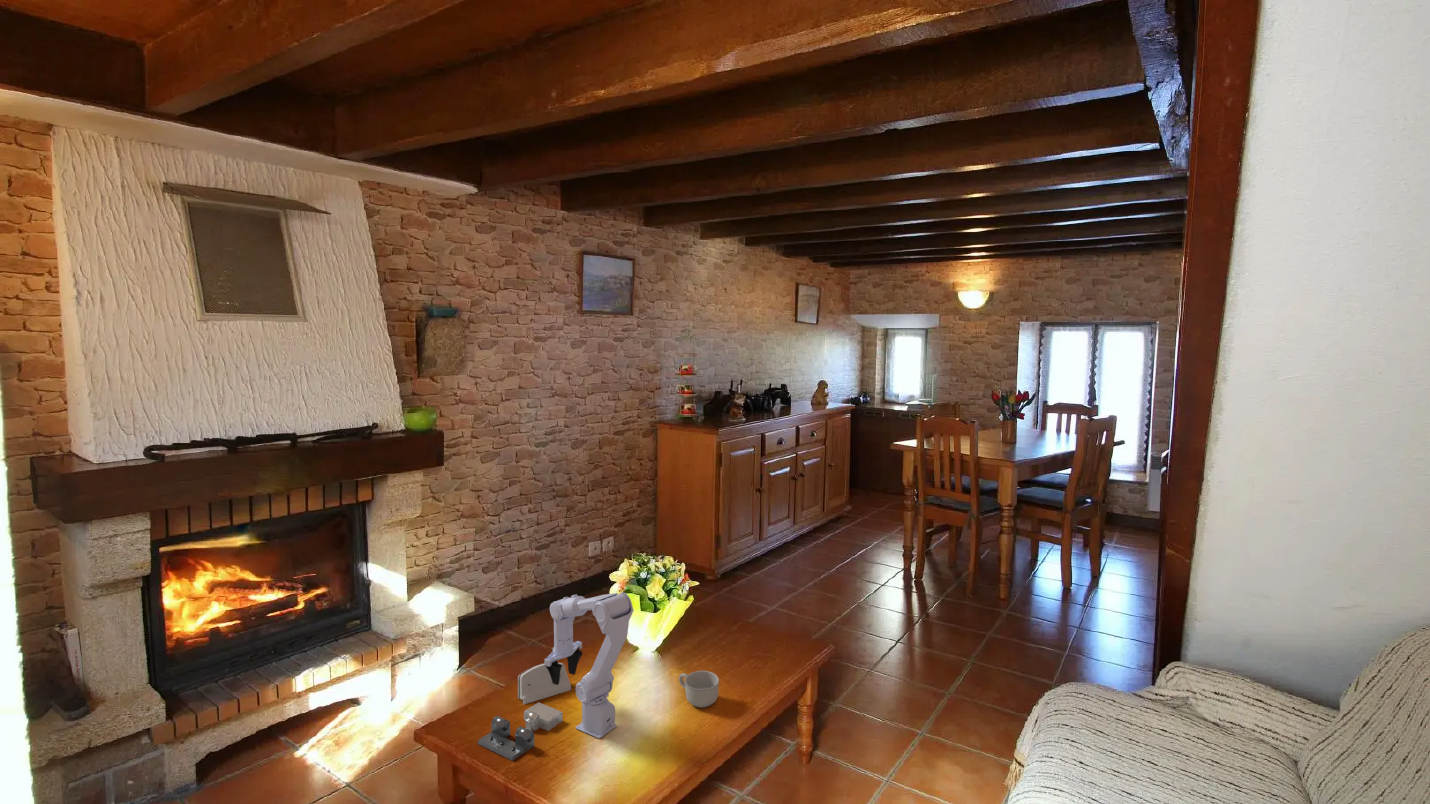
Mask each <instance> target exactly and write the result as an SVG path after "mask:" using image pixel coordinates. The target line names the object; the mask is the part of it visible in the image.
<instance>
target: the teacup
mask: <svg viewBox="0 0 1430 804" xmlns="http://www.w3.org/2000/svg"><path fill="white" fill-rule="evenodd" d="M683 678H684V680H683ZM678 682H679V683H680V685H681V687H682V688H683V689H684V690H685V697H686V700H687V701H688V702H689V703H690V704H691V705H692V706H694V707H696V708H700V709H701V708H708V707H710V706H712V705H713V704H714V703H716V701H717V700H718V697H719V683H720V679H719V676H718V675H717V674H715V673H714V672H711V671H708V670H697V671H693V672H690V673H689V674H687V673H685V672H683V673H680V675H679V676H678Z"/></svg>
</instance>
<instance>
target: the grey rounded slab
mask: <svg viewBox="0 0 1430 804" xmlns="http://www.w3.org/2000/svg"><path fill="white" fill-rule="evenodd" d="M558 664H560V665H562V667H561V671H560V680H559V684H558V685H556V684H553V683H552V679H551V676H550V673H549V671H548V669H547V668H546V666H545V664H544V663H540V664H537V665H534V666H531V667H530V668H527V669H525V670H524V671H523V672H521V673H520V674H519V675H518V677H517V698H518V699H519V700H522V704H523V705H527V704H530V703H533V702H536V701H539V700H542V699H546V698H550V697H552V696H555V695H559V693H560V694H562V693H566V692H568V691H572V685H571V682H570V679H569V675H568V673H567V669H566V665H565V664H564V663H562V662H558Z"/></svg>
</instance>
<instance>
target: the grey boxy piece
mask: <svg viewBox="0 0 1430 804" xmlns="http://www.w3.org/2000/svg"><path fill="white" fill-rule="evenodd" d="M563 714H564V713H563V711H560V710H558V709H556V708H553V707H551V706H549V705H547V704H544V703H541V702H539V701H538V702H537V703H535V704H534V705H532V706H530V707H528V708H526V709H525V710H524V711H523V721H525V728H526V729H528V730H531V731H533V732H534V731H537V730H538V729H543V730H544V731H547V732H549V731H551V730H552V729H554V728H555V727H556V726H558V725H559V724H561V723H562V722H563ZM558 723H559V724H558ZM557 724H558V725H557Z"/></svg>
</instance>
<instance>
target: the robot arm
mask: <svg viewBox="0 0 1430 804" xmlns="http://www.w3.org/2000/svg"><path fill="white" fill-rule="evenodd" d="M587 611H591V612H592V616H594V617H595V619H596V621H597V622H596V623H597V624H598V627H599V629H600V631H601V633H602V634H603V635H605V637H604V640H603V642H602V644H601V647H600V649H599V651H598V653H597V655H596V658H595V661H594V662H593V665H592V667H591V670H590V671H589V672H587V673H586V674H585V675H584V676H583V677H582V678H581V680H580V681H578V682H577V683H576V685H575V694H576V697H577V699H578V700H579V701H580V702H581V723H579V724H578V725H576V726H575V729H576V730H578V731H581V732H583V733H585V734H587V735H590V736H592V737H594V738H597V739H601V738H603V737H604V736H605V735H607V734H608V733H609V732H610V731H611V732H612V731H613V729H614V728H616V727H617V726H618V725H617V723H616V707H615V705H614V703H612V702H611V701H610V700H609V699H608V697H610V695H609V694H610V693H611V692H612V690H613V682H614V680H615V677H614V674H613V673H612V670H613V668H614V666H615V664H616V662H617V660H618V657H619V655H620V653H621V650H622V649H623V646H624V645H625V642H626V640H627V637H628V634H629V627H630V626H629V625H630V621H631V620H630V619H631V617H632V615H633V613H634V607H633V604H632V600H631V598H630V596H629V595H628V594H627V593H626V592H620V593H618V592H614V593H606V594H601V595H597V596H593V597H588V598H586V597H584V596H582V595H579V596H578V594H573V595H571V596H570V597H569V596H565V597H563V598H561V599H558V600H556V601H552V602H551V603H550V605H549V612H550V613H549V614H550V615H551V618H552V620H553V637H554V638H553V647H552V651H551V653H550V654H549V655H548V656H547V657H546V658H544V664H545V666H546V668H547V669H548V671H549V673H550V676H551V679H552V683H553V684H556V685H558V684H559V680H560V671H561V667H562V665H560V664H558V663H559V662H558V661H559V660H561V659H565V658H566V660H567V670H568V673H569V674H571V675H573V676H575V675H576V672H577V668H578V664H579V662H580V660H581V657H582V656H583V651H582V650H580V649H583V642H582V641H579V640H577V641H574V621H575V618H576V617H580V616H581V617H582V616H584V615H586V613H587Z"/></svg>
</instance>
